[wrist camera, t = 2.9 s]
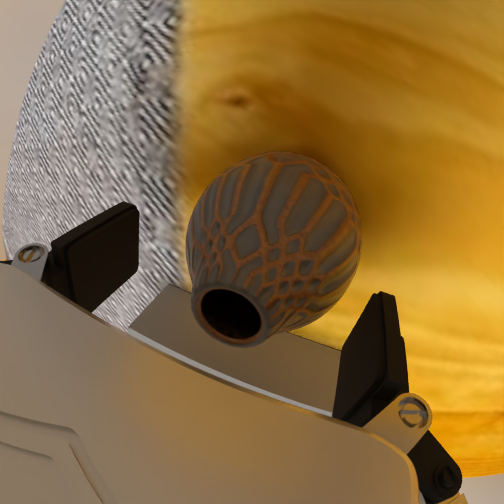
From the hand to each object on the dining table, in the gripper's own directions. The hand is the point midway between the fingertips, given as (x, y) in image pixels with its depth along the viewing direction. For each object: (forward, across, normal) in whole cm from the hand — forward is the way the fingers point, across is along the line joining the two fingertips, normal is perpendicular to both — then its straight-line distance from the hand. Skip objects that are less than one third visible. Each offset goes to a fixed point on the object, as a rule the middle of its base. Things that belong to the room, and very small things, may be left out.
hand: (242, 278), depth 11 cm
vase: (+6, -1, -1) cm, 6 cm away
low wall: (+6, -1, +8) cm, 10 cm away
